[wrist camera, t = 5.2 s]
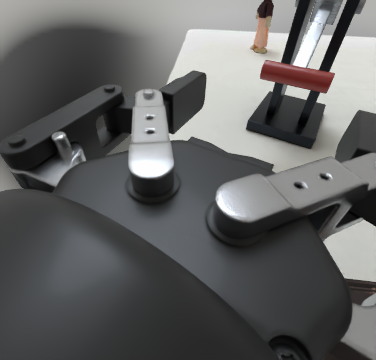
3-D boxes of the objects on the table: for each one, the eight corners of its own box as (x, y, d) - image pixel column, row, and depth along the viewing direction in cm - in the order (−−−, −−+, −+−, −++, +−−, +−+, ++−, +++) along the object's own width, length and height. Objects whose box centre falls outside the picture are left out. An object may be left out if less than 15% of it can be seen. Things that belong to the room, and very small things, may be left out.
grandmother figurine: (273, 54, 53) (293, -20, 44) (258, 55, 52) (275, -21, 43) (256, 44, 58) (271, -24, 49) (242, 45, 57) (254, -24, 48)
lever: (322, 101, 20) (333, 79, 18) (258, 86, 22) (261, 64, 20) (359, 8, 23) (371, -20, 21) (301, 2, 25) (307, -24, 23)
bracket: (311, 149, 27) (391, -15, 17) (245, 129, 30) (281, -24, 20) (321, 112, 34) (385, -23, 23) (267, 99, 36) (302, -28, 26)
